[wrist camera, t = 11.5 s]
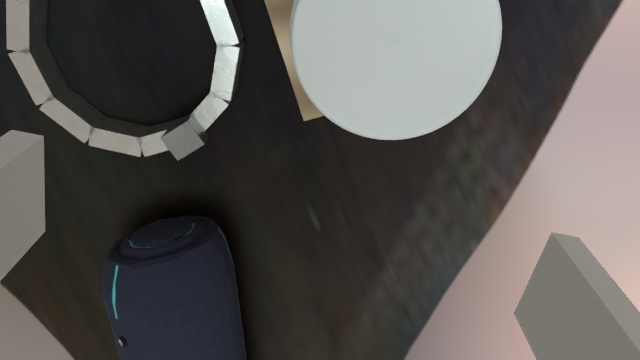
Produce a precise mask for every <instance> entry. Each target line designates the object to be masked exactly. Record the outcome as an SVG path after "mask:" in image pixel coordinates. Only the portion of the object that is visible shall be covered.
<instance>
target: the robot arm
mask: <svg viewBox="0 0 640 360" xmlns="http://www.w3.org/2000/svg"><path fill="white" fill-rule="evenodd" d="M44 232H45V185H44V136H41V135H36V134H31V133H26V132H20V131H15V130H10V131H9V132H7V133H6V134H4V135H3V136H1V137H0V281H1V280H2V279H3V278H4V276H5V275H6V274H7V273H8V272H9V271H10V270H11V269H12V268H13V266H14V265H15V264H16V263H17V262H18V261H19V260H20V259H21V258H22V256H23V255H24V254H25V253H26V252H27V251H28V250H29V249H30V248H31V246H32V245H33V244H34V243H35V242H36V241H37V240H38V239H39V238H40V236H41V235H42V234H43V233H44ZM514 314H515V316H516V318H517V320H518V322H519V324H520V326H521V328H522V331H523V332H524V335H525V336H526V339H527V341H528V343H529V345H530V347H531V349H532V351H533V353H534V355H535V357H536V359H537V360H640V312H639V311H638V310H637V308H636V307H635V306H634V305H633V304H632V302H631V301H630V300H629V299H628V297H627V296H626V295H625V294H624V292H623V291H622V290H621V289H620V288H619V286H618V285H617V284H616V283H615V281H614V280H613V279H612V278H611V277H610V275H609V274H608V273H607V272H606V270H605V269H604V268H603V267H602V265H601V264H600V263H599V262H598V261H597V259H596V258H595V257H594V256H593V254H592V253H591V252H590V251H589V250H588V248H587V247H586V246H585V245H584V243H583V242H582V241H581V240H580V239H579V238H578V237H573V236H568V235H563V234H557V233H551V235H550V237H549V239H548V241H547V244H546V246H545V248H544V250H543V252H542V254H541V257H540V259H539V261H538V263H537V265H536V267H535V269H534V272H533V274H532V276H531V278H530V280H529V282H528V285H527V287H526V289H525V291H524V293H523V295H522V298H521V300H520V302H519V304H518V306H517V308H516V310H515V313H514Z"/></svg>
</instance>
